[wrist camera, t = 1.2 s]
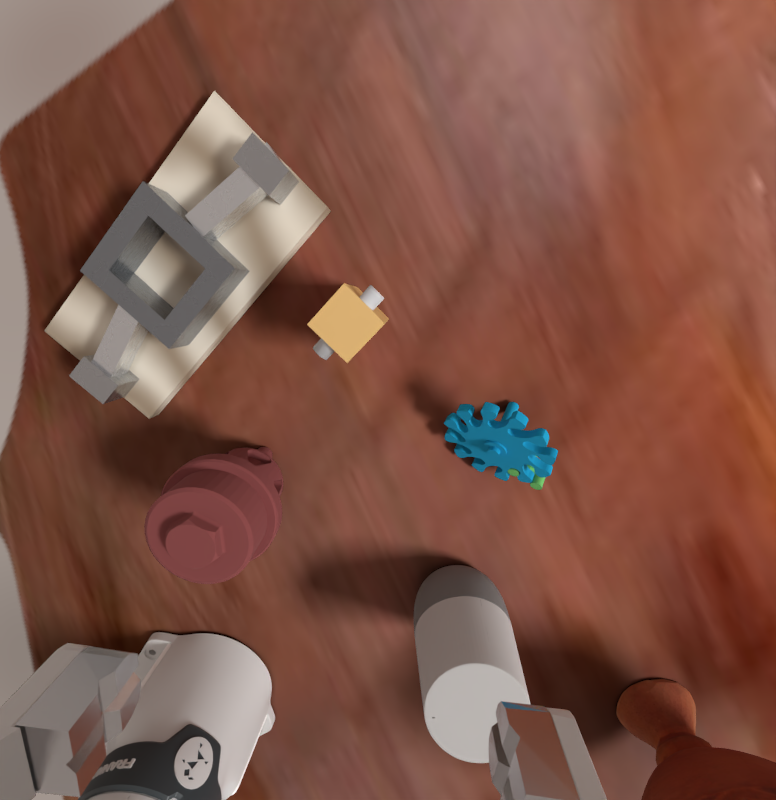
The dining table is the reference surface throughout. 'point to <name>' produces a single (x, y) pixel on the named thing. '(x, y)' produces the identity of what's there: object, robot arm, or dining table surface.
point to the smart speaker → (465, 659)
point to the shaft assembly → (198, 237)
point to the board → (177, 270)
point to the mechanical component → (216, 515)
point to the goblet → (689, 749)
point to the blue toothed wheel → (502, 443)
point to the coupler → (347, 321)
